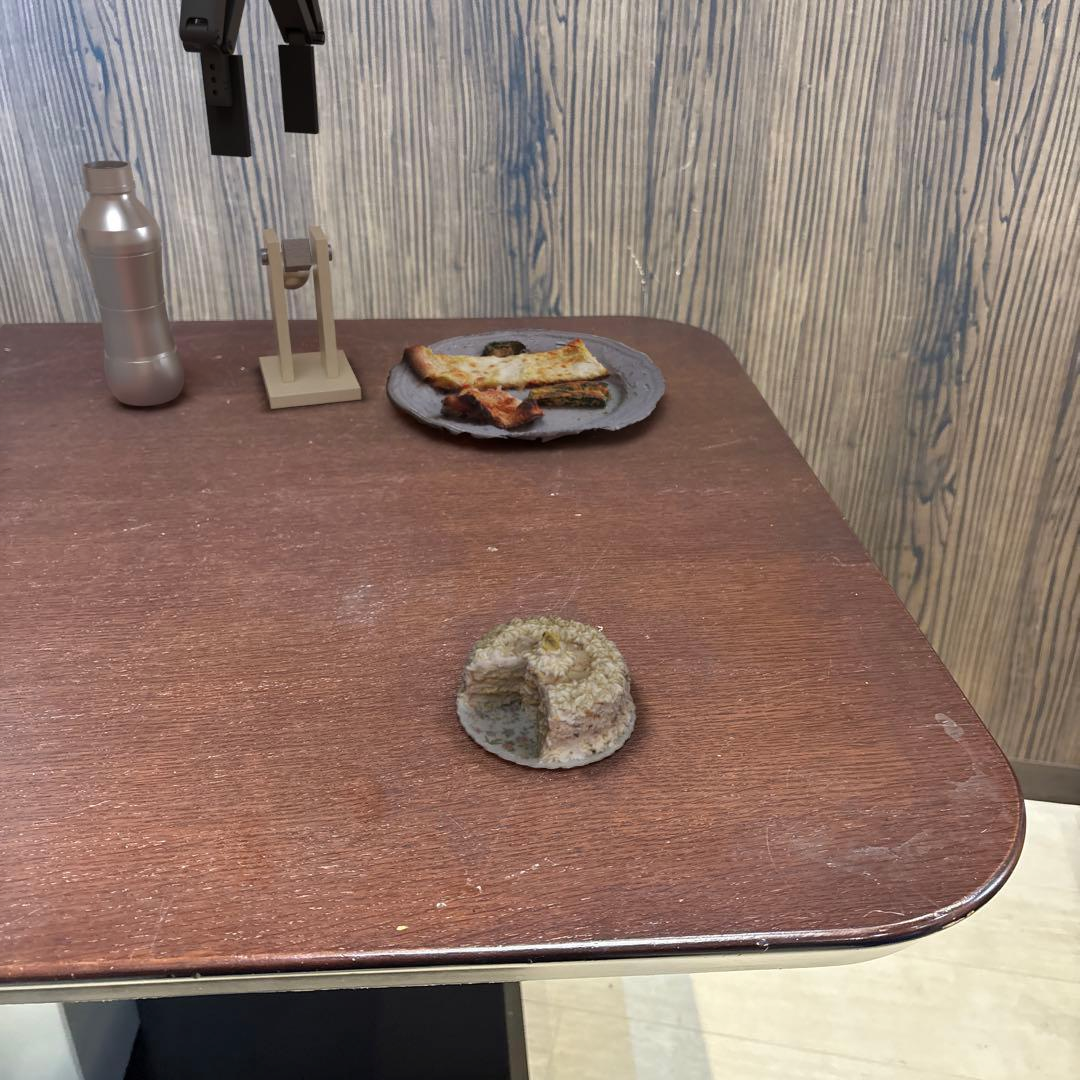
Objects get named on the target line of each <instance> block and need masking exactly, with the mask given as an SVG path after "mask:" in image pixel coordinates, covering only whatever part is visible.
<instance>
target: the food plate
mask: <svg viewBox="0 0 1080 1080" xmlns="http://www.w3.org/2000/svg"><path fill="white" fill-rule="evenodd" d="M662 372H663V371H662V370H661V369H660V368H659V367H658V365H657V364H656V363H654V362H653V360H652V359H651V357H649V355H648V354H647V353H644V352H642V351H638V350H637V349H634V348H633V347H630V346H628V345H626V344H625V343H622V342H619V341H616V340H614V339H611V338H608V337H604V336H599V335H595V334H588V333H585V332H583V333H582V332H570V331H558V330H552V329H549V328H545V327H544V328H543V327H521V328H510V329H509V328H506V329H503V330H501V329H499V330H493V331H485V332H479V333H472V334H469V335H468V334H466V335H458V336H454V337H453V336H452V337H450V338H446V339H443V340H439V341H435V342H434V343H430V344H428V345H427V346H424V345H418V344H414V345H413V344H411V346H408V347H406V346H405V347H404V349H403V354H402V357H401V360H400V362H398V364H397V365H394V366H393V367H392V368H391V369H390V370H389V371H388V374H389V375H388V376H387V378H386V380H387V381H386V384H385V390H386V396H387V398H388V400H389V401H390V403H391V405H393V406H395V407H396V408H397V409H399V410H400V411H403V412H405V413H407V414H409V415H410V416H412V417H413V418H414V419H415V420H417V421H418V423H419V424H422V425H428V426H430V427H431V428H435V429H440V431H441V432H440V434H441V435H443V434H445V431H444V428H446V430H447V432H448V433H450V435H453V436H457V435H459V434H462V433H465V432H466V433H470V435H471V437H472V438H476V439H491V438H504V439H508V437H509V438H514V439H518V440H526V441H527V440H528V441H535V440H536V439H538V438H540V439H541V443H545V442H548V441H551V440H555V439H558V438H561V437H564V436H572V435H573V436H574V435H578V434H580V433H581V432H583V431H588V430H593V431H597V429H604V430H607V431H614V432H615V431H616V430H620V429H622V428H625V427H627V426H630V425H633V424H635V423H637V422H640V421H642V420H644V419H646V418H647V417H649V416H650V415H651V414H652V411H654V410H655V409H656V407H657V403H658V402H659V401H660V400H661V398H662V397H663V396H664V395H665V391H666V384H665V383H666V376H664V373H662Z"/></svg>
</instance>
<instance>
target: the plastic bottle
mask: <svg viewBox="0 0 1080 1080" xmlns="http://www.w3.org/2000/svg"><path fill="white" fill-rule="evenodd" d="M81 171H82V177H83V180H84V181H83V182H84V183H83V187H84V191H86V192H88V193H89V198H88V200H87V202H86V204H85V206H84V208H83V210H82V212H81V215H80V217H79V220H78V222H77V230H76V231H77V232H76V237H77V241H78V244H79V248H80V249H81V253H82V257H83V259H84V263H85V265H86V268H87V270H88V273H89V276H90V279H91V281H92V286H93V290H94V294H95V298H96V300H97V305H98V309H99V314H100V319H101V328H102V329H101V330H102V338H103V347H104V351H103V366H104V367H103V369H104V379H105V381H106V383H107V386H108V388H109V392H110V393H111V394H112V395H113V396H114V397H115V398H116V399H117V400H118V401H119V402H121V403H122V404H124V405H125V404H126V405H128V406H137V407H145V406H146V407H147V406H157V405H161V404H164V403H168V402H171V401H172V400H175V399H176V398H177V397H178V396H179V395H180V394H181V391H182V390H183V388H184V384H185V367H184V364H183V362H182V361H183V360H182V357H181V355H180V352H179V350H178V347H177V345H176V344H175V339H174V336H173V335H174V334H173V331H172V327H171V322H170V318H169V314H168V311H167V304H166V298H165V288H164V287H165V286H164V278H163V245H162V243H163V239H162V231H161V228H160V225H159V223H158V221H157V219H156V218H155V216H154V215H153V214H152V212H150V210H149V209H148V208H147V207H146V206H145V205H144V204H143V203H142V201H141V200H140V199H139V198H138V197H136V195H135V193H134V190H136V189H137V185H136V181H135V180H134V177H133V171H132V166H131V163H130V162H128V161H124V160H95V161H89V162H85V163H83V164H81Z"/></svg>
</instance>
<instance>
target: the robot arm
mask: <svg viewBox="0 0 1080 1080" xmlns="http://www.w3.org/2000/svg"><path fill="white" fill-rule="evenodd" d="M180 2H181V3H180V13H179V24H178V34H179V38H180V41H181V42H182V43H181V44H182V48H183V50H184V51H185V53H193V54H195V53H196V54H199V59H200V67H201V76H202V85H203V93H204V102H205V112H206V120H207V131H208V137H209V146H210V147H209V148H210V155H211V156H219V157H220V156H221V157H234V158H247V159H248V158H251V157H253V152H252V142H251V131H250V122H249V112H248V101H247V90H246V79H245V70H244V69H245V68H244V58H243V54H235V52H236V51H235V50H236V46H237V41H238V38H239V33H240V29H241V24H242V19H243V15H244V9H245V6H246V2H247V1H246V0H181V1H180ZM267 2H268V4H269V7H270V9H271V12H272V14H273V18H274V20H275V22H276V25H277V28H278V30H279V33H280V36H281V38H282V41H283V43H284V44H277V51H278V52H277V53H278V65H279V78H280V90H281V91H280V92H281V105H282V115H283V129H284V133H286V134H287V133H289V134H304V135H318V134H320V125H319V110H318V108H319V107H318V95H317V76H316V62H315V61H316V60H315V46H324V45H325V43H326V32H325V27H324V21H323V17H322V12H321V8H320V2H319V0H267Z"/></svg>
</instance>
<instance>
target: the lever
mask: <svg viewBox="0 0 1080 1080" xmlns="http://www.w3.org/2000/svg"><path fill="white" fill-rule="evenodd" d="M280 252H281V261H282V270H283V280H284V289H285V290H289V291H290V290H291V291H294V290H298V289H301V288H302V287H304V286H305V285H306V284H307V282H308V280H309V278H310V274H311V269H312V258H311V247H310V237H308V236H300V237H299V236H298V237H285V238H282V240H281V243H280Z"/></svg>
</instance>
